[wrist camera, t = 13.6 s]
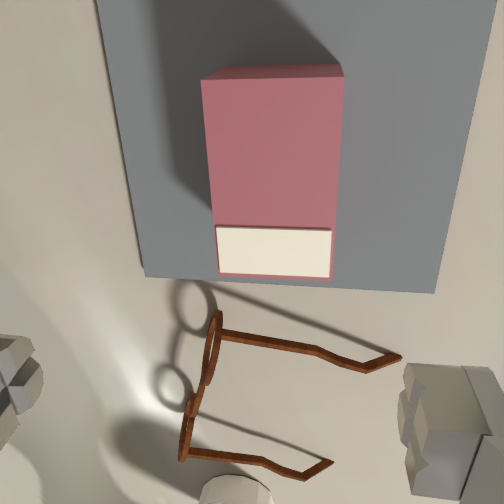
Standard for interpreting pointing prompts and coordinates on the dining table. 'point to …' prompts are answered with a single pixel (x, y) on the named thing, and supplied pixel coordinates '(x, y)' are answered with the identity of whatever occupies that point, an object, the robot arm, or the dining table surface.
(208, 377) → the glasses
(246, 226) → the card box
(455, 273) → the dining table surface
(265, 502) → the white cup
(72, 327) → the dining table surface
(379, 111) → the gray mat
